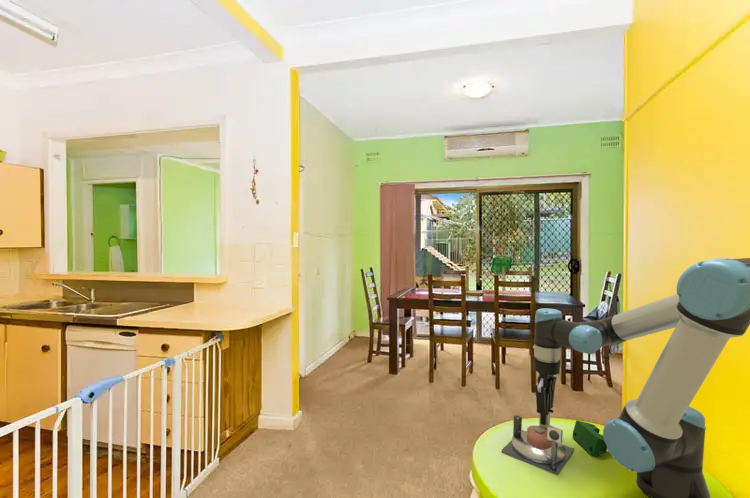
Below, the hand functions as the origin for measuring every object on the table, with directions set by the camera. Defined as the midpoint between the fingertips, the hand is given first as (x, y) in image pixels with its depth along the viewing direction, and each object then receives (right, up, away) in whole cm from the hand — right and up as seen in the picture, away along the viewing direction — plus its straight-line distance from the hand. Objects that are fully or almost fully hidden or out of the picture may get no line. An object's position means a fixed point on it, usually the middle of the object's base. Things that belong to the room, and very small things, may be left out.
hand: (544, 432), depth 122 cm
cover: (-3, -2, -3) cm, 4 cm away
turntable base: (-3, -4, -4) cm, 6 cm away
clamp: (+15, -5, 0) cm, 16 cm away
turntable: (-3, -4, -4) cm, 6 cm away
